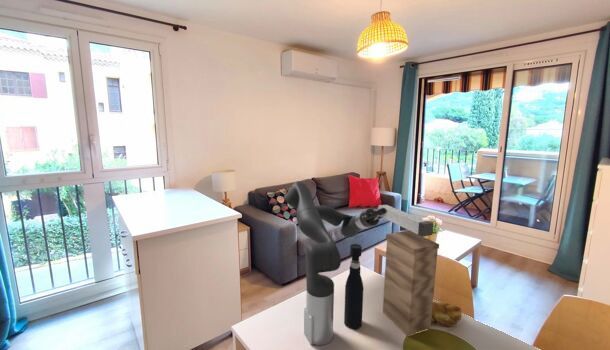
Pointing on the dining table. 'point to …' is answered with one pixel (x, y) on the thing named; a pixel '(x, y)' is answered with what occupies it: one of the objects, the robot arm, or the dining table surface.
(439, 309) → the bread roll
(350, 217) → the robot arm
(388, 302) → the walnut stand
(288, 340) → the dining table surface
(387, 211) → the aluminium bar
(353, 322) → the wine bottle
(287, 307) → the dining table surface
